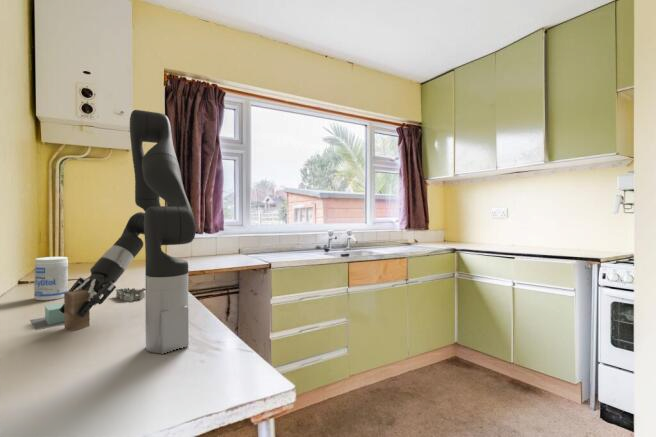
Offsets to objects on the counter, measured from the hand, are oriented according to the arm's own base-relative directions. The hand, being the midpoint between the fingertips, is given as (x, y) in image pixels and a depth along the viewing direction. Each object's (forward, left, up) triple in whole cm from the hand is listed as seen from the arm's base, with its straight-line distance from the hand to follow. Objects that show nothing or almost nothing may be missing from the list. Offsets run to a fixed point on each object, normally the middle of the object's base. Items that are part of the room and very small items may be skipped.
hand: (70, 313), depth 91 cm
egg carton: (+25, -22, -5) cm, 34 cm away
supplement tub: (+47, -3, -5) cm, 47 cm away
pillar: (+1, -2, -4) cm, 5 cm away
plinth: (+12, 0, -4) cm, 12 cm away
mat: (+12, 0, -4) cm, 12 cm away
